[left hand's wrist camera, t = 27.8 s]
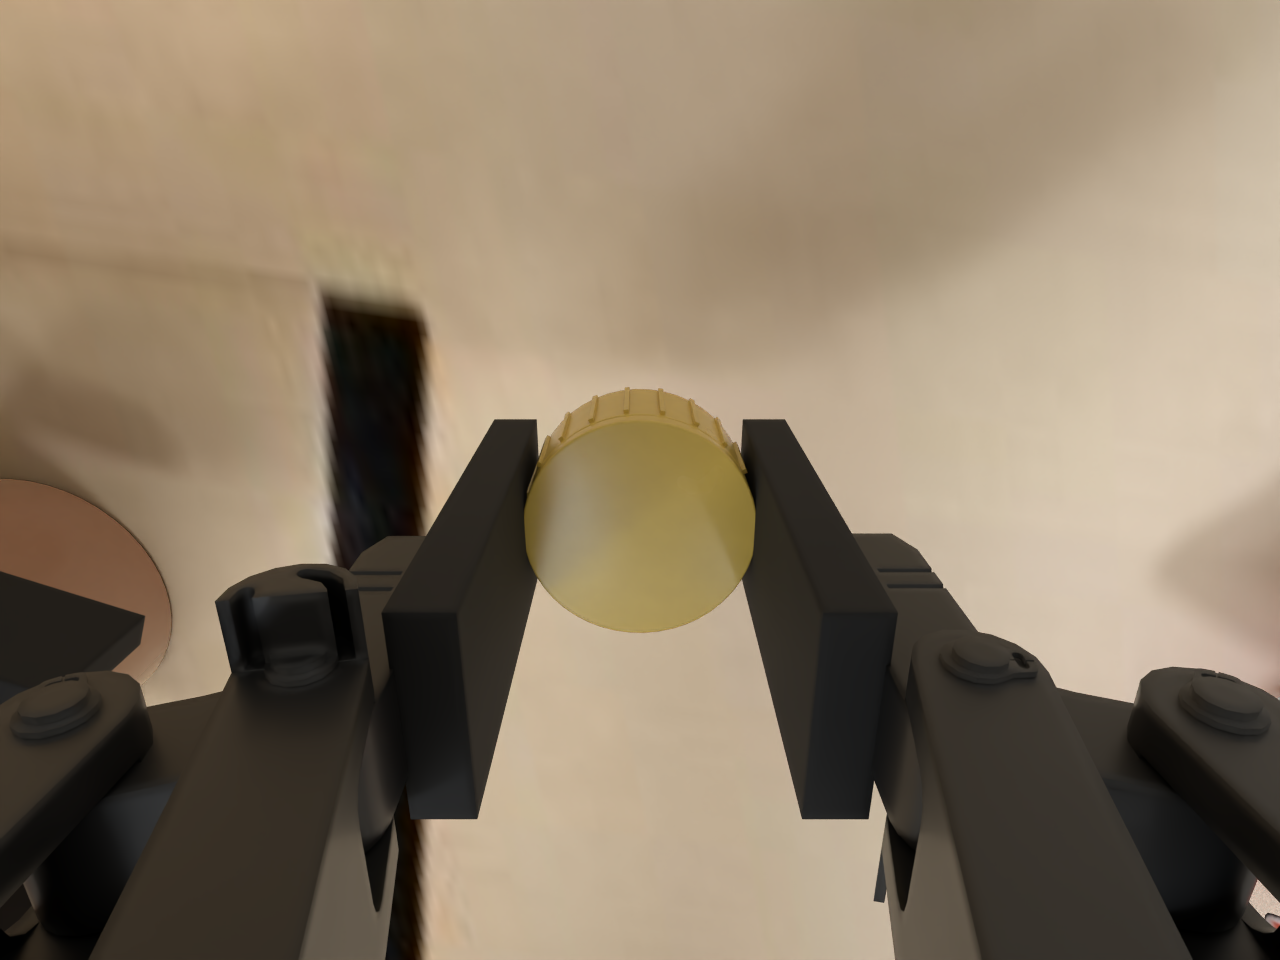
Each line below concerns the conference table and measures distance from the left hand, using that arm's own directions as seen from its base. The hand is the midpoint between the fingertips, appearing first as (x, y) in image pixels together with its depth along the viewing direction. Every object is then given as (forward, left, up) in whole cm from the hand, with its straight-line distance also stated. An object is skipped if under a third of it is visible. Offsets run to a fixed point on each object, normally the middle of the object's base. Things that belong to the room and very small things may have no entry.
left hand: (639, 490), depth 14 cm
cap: (0, 0, +2) cm, 2 cm away
